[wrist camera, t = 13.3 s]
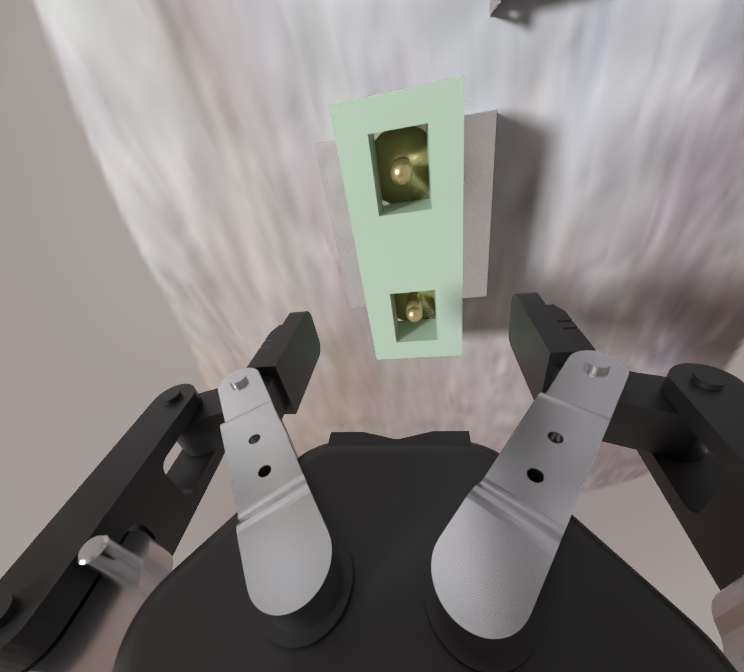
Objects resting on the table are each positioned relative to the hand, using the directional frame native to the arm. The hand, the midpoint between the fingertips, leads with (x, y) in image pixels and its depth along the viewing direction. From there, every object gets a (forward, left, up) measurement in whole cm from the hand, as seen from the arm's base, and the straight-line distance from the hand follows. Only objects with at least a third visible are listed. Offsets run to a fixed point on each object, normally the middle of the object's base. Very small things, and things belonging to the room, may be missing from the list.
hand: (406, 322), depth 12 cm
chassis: (0, 0, -15) cm, 15 cm away
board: (0, 0, -11) cm, 11 cm away
